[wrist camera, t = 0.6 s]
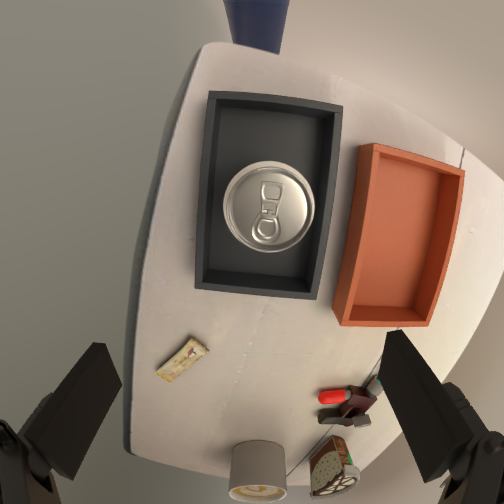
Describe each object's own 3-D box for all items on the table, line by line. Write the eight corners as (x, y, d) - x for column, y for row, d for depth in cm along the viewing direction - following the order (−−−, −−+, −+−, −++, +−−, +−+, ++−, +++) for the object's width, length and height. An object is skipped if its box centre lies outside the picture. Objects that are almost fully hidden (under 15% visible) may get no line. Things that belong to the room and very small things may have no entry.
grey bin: (215, 100, 27) (208, 90, 23) (332, 114, 27) (343, 106, 23) (202, 273, 32) (194, 288, 28) (309, 284, 32) (316, 300, 28)
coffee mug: (238, 436, 41) (235, 482, 32) (291, 443, 42) (295, 487, 32) (224, 466, 45) (220, 504, 36) (269, 472, 46) (270, 509, 36)
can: (231, 219, 30) (214, 252, 19) (238, 160, 28) (225, 153, 17) (291, 227, 30) (310, 264, 19) (300, 168, 28) (326, 168, 17)
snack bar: (171, 383, 37) (154, 377, 35) (171, 375, 38) (154, 369, 37) (210, 351, 34) (192, 343, 33) (209, 343, 36) (191, 334, 34)
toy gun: (390, 372, 37) (401, 392, 32) (347, 420, 40) (353, 440, 35) (342, 358, 36) (351, 381, 31) (300, 411, 39) (303, 433, 34)
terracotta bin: (358, 145, 28) (373, 142, 24) (445, 168, 28) (465, 170, 24) (331, 308, 33) (340, 326, 29) (413, 311, 33) (428, 326, 29)
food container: (331, 463, 45) (337, 500, 35) (305, 462, 44) (310, 500, 35) (363, 432, 41) (375, 472, 32) (336, 430, 41) (346, 474, 31)
